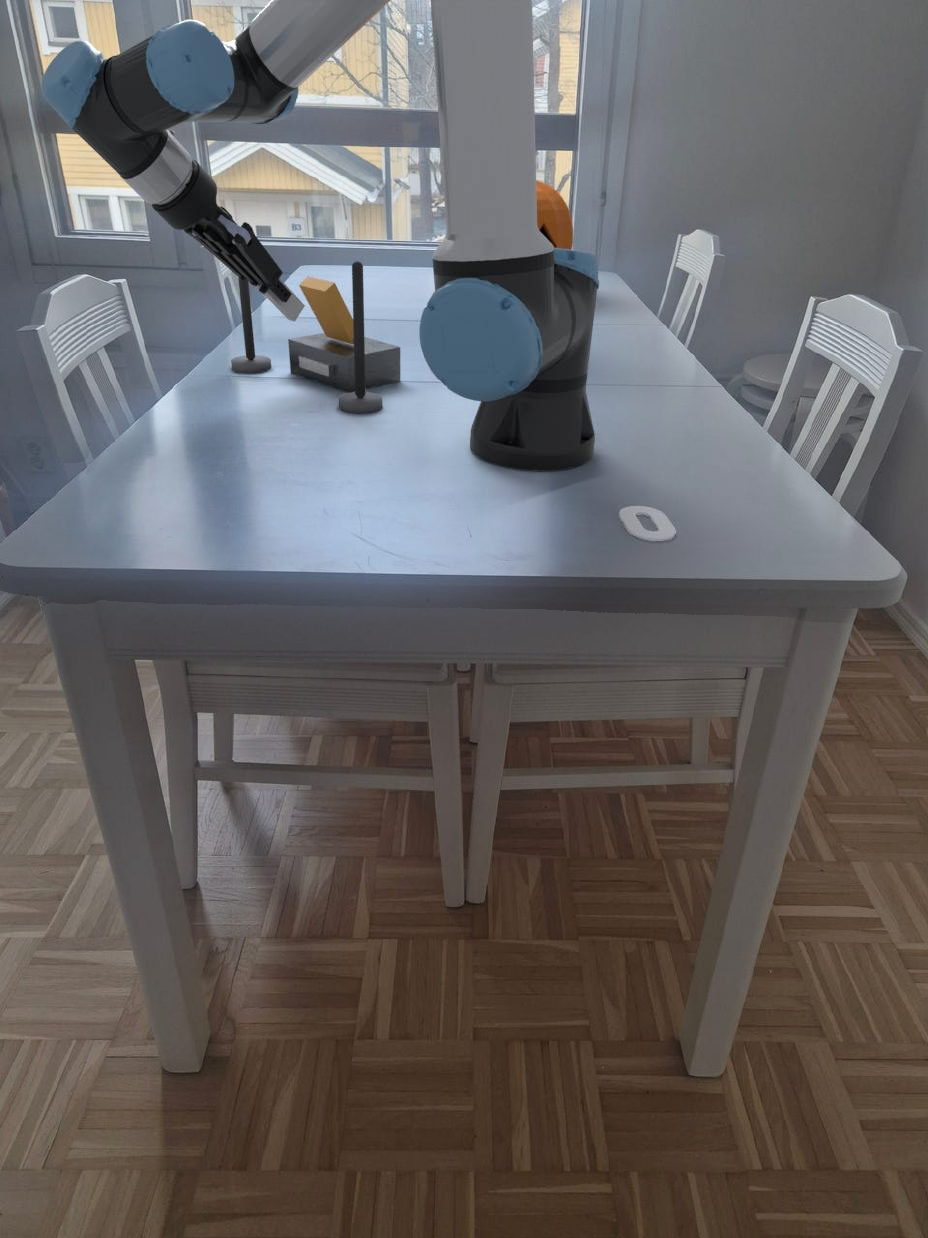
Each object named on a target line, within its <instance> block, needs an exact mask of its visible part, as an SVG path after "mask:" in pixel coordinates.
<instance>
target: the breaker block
mask: <svg viewBox="0 0 928 1238" xmlns="http://www.w3.org/2000/svg"><path fill="white" fill-rule="evenodd" d="M364 343H365V390H367V389H371V388H376V387H380V386H384V385H388V384H389V385H390V384H393V383H397V382H400V381H401V347H400V346H398V345H395V344H391V343H387V342H383V341H380V340H376V339H373V338H370V337H366V336H364ZM288 353H289V368H290V373H291V374H294V375H296V376H299V377H302V378H305V379H308V380H310V381H313V382H317V383H320V384H323V385H325V386H328V387H331V388H334V389H336V390H340V391H342V392H345V393H350V392H355V367H354V344H349V343H346V342H342V341H339V340H336V339H332V338H329V337H326V335H325V333H324V332H323V333H317V334H311V335H306V336H299V337H293V338H288Z"/></svg>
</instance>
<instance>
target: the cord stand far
mask: <svg viewBox="0 0 928 1238" xmlns="http://www.w3.org/2000/svg"><path fill="white" fill-rule="evenodd" d="M237 279H238V288H239V289H238V290H239V296H240V297H239V298H240V308H241V309H240V310H241V319H242V329H243V330H242V331H243V340H244V349H245V350H244V351H245V355H240V356H235V357H233V358H231V360H230V362H231V369H232V371H234V372H236V373H237V372H238V373H243V374H246V373H247V374H260V373H265V372H269V371H270V370H271V369H272V360H271V359H272V358H270V357H268V356H265V355H259V354H257V355H256V349H255V348H256V347H255V339H254V329H253V328H254V326H253V315H252V309H251V308H252V307H251V305H252V304H251V296H250V295H251V294H250V285H249V284H250V282H249V281H248V280H246V281H242V280H241V279H240V278H239V277H238V276H237Z"/></svg>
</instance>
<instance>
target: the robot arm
mask: <svg viewBox="0 0 928 1238" xmlns="http://www.w3.org/2000/svg"><path fill="white" fill-rule="evenodd" d="M391 1H392V0H271V1H270V2H268V4H267V5H265V6H264V8H263V9H262V10H261V11H260V12H259V13H258V14H257V15H256V17H254V19H253V20H252V21H251V22H250V23H249V24H248V25H247V26H246V27H245V28H244V29H243V30H242V31H241V32H240V33H239V34H238V35H237V36H236V37H235V38H234V39H233V40H231V41H229V42H228V41H222V40H221V38H220V37H219V36H218V35H217V34H216V33H215V31H212V30H210V29H209V28H208V27H207V26H206V25H205V23H204V22H201V21H199V20H196V19H185V20H183V21H180V22H177V23H175V24H173V25H167V26H164V27H162V28H161V29H160V30H157V31H156V32H155V33H154V34H153V35H151V36H149V37H147V38H146V39H144V40H142V41H140V42H137V43H136V44H135V45H133V46H131V47H130V48H128V49H125V50H124V51H122V52H120V53H119V54H116V55H112V56H110V57H108V58H105V57H104V55H103V53H102V52H101V51H98V50H97V48H95V47H94V46H93V44H92V43H90V42H89V41H86V40H76V41H73V42H71V43H69V44H68V45H67V46H65V47H63V48H62V50H60V51H59V52H58V53H57V54H56V55H55V57H54V58H53V59H52V60H51V61H50V63H49V65H48V66H47V67H46V70H45V71H44V74H43V76H42V79H41V86H40V88H41V89H40V90H41V94H42V96H43V98H44V99H45V101H46V102H47V104H49V106H50V107H51V108H52V109H53V110H54V111H55V112H56V113H57V114H58V115H59V116H60V118H61V119H62V120H63V121H64V122H65V123H66V125H67V128H69V129H70V130H72V131H74V132H75V133H76V134H77V135H78V136H79V137H80V138H81V139H82V140H83V141H84V142H86V144H87V145H88V146H89V147H91V148H92V149H93V151H94V152H96V154H98V155H99V157H101V158H102V160H104V161H105V162H106V163H107V164H108V165H109V166H110V167H111V168H112V169H113V170H114V171H115V172H116V173H117V174H118V175H119V177H120V178H121V179H122V180H123V181H124V182H125V183H126V184H127V185H128V186H129V187H130V188H131V189H132V190H133V191H134V192H135V193H136V194H137V195H138V196H139V197H140V198H141V199H142V200H143V201H144V202H145V203H147V204H150V205H151V207H152V209H153V210H155V212H156V213H157V214H158V215H159V216H161V218H162V219H163V220H164V221H166V223H167V224H168V225H169V226H170V227H171V228H173V229H174V230H177V231H178V230H179V231H184V232H185V233H186V234H188V236H190V237H191V238H193V239H194V240H196V241H197V242H199V244H201V245H202V246H203V248H205V249H206V250H207V251H208V252H209V253H210V254H212V255H213V256H214V257H215V258H216V259H217V260H219V261H220V262H221V263H222V264H223V265H225V266H226V268H228V269H229V270H230V271H231V272H232V273H233V274H235V276H236V277H237V278H238V277H239V278H240V279H241V280H242V281H246V280H248V282H249V284H250V285H251V286H253V287H257V286H258V288H257V290H258V291H259V292H260V293H261V294H263V296H265V298H267V300H269V301H270V303H271V304H273V305H274V307H275V308H276V309H278V311H279V312H280V313H281V314H282V315H283V316H284V317H285V318H286V319H287V320H288V321H292V322H296V321H297V319H298V317H299V316H300V314H301V313H302V311H303V310H304V308H305V306H306V305H305V304H304V303H303V301H302V300H301V299H300V298H299V297H297V295H296V294H295V293H294V292H293V291H292V290H291V289H290V288H289V287H288V286H287V285H286V283H285V282H284V281H283V280H282V279H281V276H282V275H283V274H284V272H283V270H282V269H281V268H280V266H279V265H278V264H277V263H276V261H275V260H274V259H273V257H272V256H271V255H270V253H269V252H268V250H267V249H266V248H265V246H264V245H263V244H262V243H261V241H260V240H259V238H258V237H257V236H256V234H255V232H254V229H253V227H252V226H251V225H250V224H249V223H248V222H245V221H244V222H243V223H242V225H241V226H240V225H239V224H237V223H236V222H235V220H234V219H233V216H232V214H231V213H230V212H229V211H228V210H227V209H226V208H225V207H223V206H219V205H218V202H217V195H218V187H217V186H218V185H217V183H216V181H215V180H214V179H213V178H212V176H210V174H209V173H208V172H207V171H206V169H204V168H203V167H202V165H200V163H199V162H198V161H196V160H195V159H192V156H191V154H190V153H189V152H188V150H187V149H186V148H185V147H184V146H183V145H182V144H181V143H180V142H179V141H178V139H176V137H177V133H176V132H175V131H174V130H173V129H171V128H173V127H175V126H178V125H180V124H184V123H244V124H246V123H249V124H256V125H265V124H266V125H267V124H270V123H272V122H279V121H281V120H282V121H283V120H285V118H287V117H288V116H289V115H290V114H291V113H292V112H293V110H295V105H296V103H297V99H298V96H299V87H301V85H303V83H304V82H305V81H307V80H308V79H309V78H310V77H311V76H312V75H313V74H314V73H315V72H316V71H317V70H319V68H320V67H322V66H323V65H324V63H326V62H327V61H328V60H329V59H330V58H331V57H333V55H334V54H336V52H337V51H338V50H340V49H341V48H342V47H343V46H344V45H345V44H346V43H347V42H348V41H349V40H350V39H351V38H353V36H354V35H356V33H358V32H359V31H360V30H361V29H362V28H363V27H364V26H365V25H366V24H367V23H368V22H370V20H372V19H374V17H375V16H376V15H377V14H378V13H379V12H380V11H382V9H383V8H384V7H385V6H387V5H388V4H389V2H391ZM430 10H431V11H430V12H431V13H430V14H431V15H430V16H431V27H432V29H431V30H432V40H433V57H434V67H435V69H434V72H435V84H436V101H437V110H438V111H437V114H438V115H437V116H438V126H439V127H438V130H439V142H440V157H441V171H442V174H441V175H442V186H443V189H442V190H443V201H444V203H443V204H444V214H445V215H444V216H445V228H446V234H445V236H444V238H443V240H442V242H440V243H439V245H438V247H437V248H436V249H435V250H434V252H433V253H432V269H433V282H434V283H433V284H434V292H433V293H432V295H431V296H430V299H428V301H427V303H426V305H425V306H424V308H423V311H422V313H421V316H420V321H419V331H418V332H419V342H420V348H421V351H422V355H423V358H424V360H425V362H426V364H427V366H428V368H429V369H430V371H431V373H432V374H433V375H434V376H435V377H436V379H437V380H438V381H439V382H441V383H442V384H443V385H444V386H445V387H446V388H447V389H448V390H449V391H450V392H452V393H454V394H456V395H458V396H459V397H462V398H465V399H467V400H471V401H476V402H480V403H479V405H478V408H477V411H476V413H475V416H474V419H473V421H472V424H471V427H470V428H471V429H470V433H469V434H470V438H469V440H470V442H469V449H470V450H471V452H472V453H473V454H474V455H475V456H477V457H478V458H480V459H481V460H483V461H485V462H488V463H490V464H493V465H497V466H499V467H505V468H509V469H515V470H520V471H521V470H522V471H536V472H540V471H541V472H542V471H543V472H546V471H549V472H550V471H561V470H567V469H572V468H575V467H578V466H581V465H583V464H585V463H588V462H589V461H590V460H591V459H592V458H593V456H594V452H595V450H594V449H595V441H596V433H595V429H594V424H593V419H592V416H591V415H592V414H591V411H590V410H591V409H590V404H589V400H588V394H587V382H588V381H587V380H588V372H589V363H590V355H591V346H592V337H593V328H594V322H595V321H594V320H595V312H596V311H595V310H596V303H597V293H598V289H599V286H600V280H599V269H600V268H599V259H598V257H597V256H596V254H595V253H593V252H592V251H589V250H578V249H572V250H570V249H560V248H554V246H553V245H552V243H551V242H550V241H549V240H548V239H547V238H546V237H545V236H544V235H543V234H542V233H541V232H540V231H539V229H538V226H537V194H536V180H537V163H536V162H537V161H536V159H537V157H536V156H537V155H536V150H537V149H536V118H535V116H536V115H535V107H536V105H535V75H534V73H535V72H534V71H535V70H534V69H535V68H534V65H535V63H534V31H533V29H534V27H533V25H534V24H533V20H534V19H533V0H430Z"/></svg>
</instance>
